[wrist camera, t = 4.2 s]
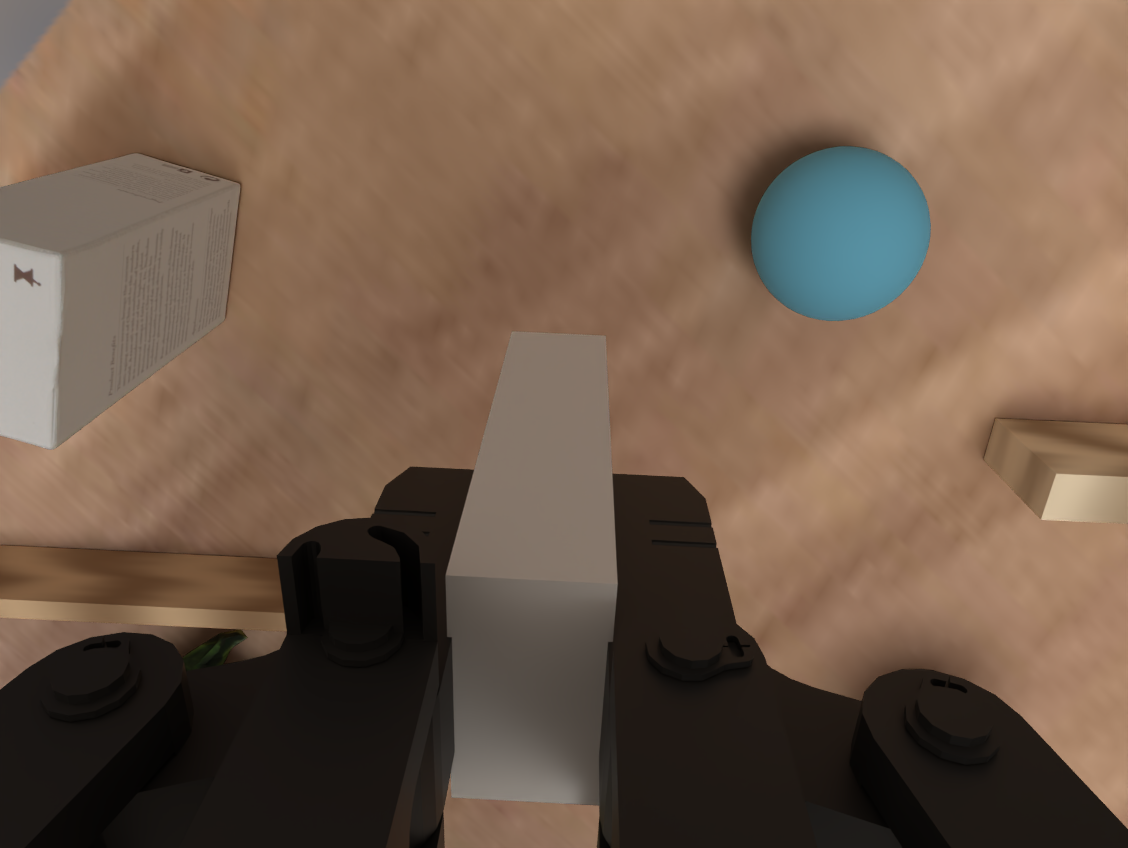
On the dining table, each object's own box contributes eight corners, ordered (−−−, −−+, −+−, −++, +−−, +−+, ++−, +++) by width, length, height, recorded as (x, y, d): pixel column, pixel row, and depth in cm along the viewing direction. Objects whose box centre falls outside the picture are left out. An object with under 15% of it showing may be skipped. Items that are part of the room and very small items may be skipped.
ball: (729, 291, 33) (757, 339, 27) (749, 134, 30) (784, 153, 25) (878, 298, 33) (935, 348, 27) (910, 141, 30) (981, 161, 25)
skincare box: (133, 149, 31) (-109, 203, 20) (244, 181, 32) (65, 252, 21) (123, 297, 34) (-97, 416, 23) (227, 325, 34) (58, 456, 23)
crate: (27, 833, 47) (-19, 898, 44) (-71, 541, 39) (-139, 592, 35) (388, 851, 47) (371, 918, 44) (367, 563, 39) (344, 616, 35)
